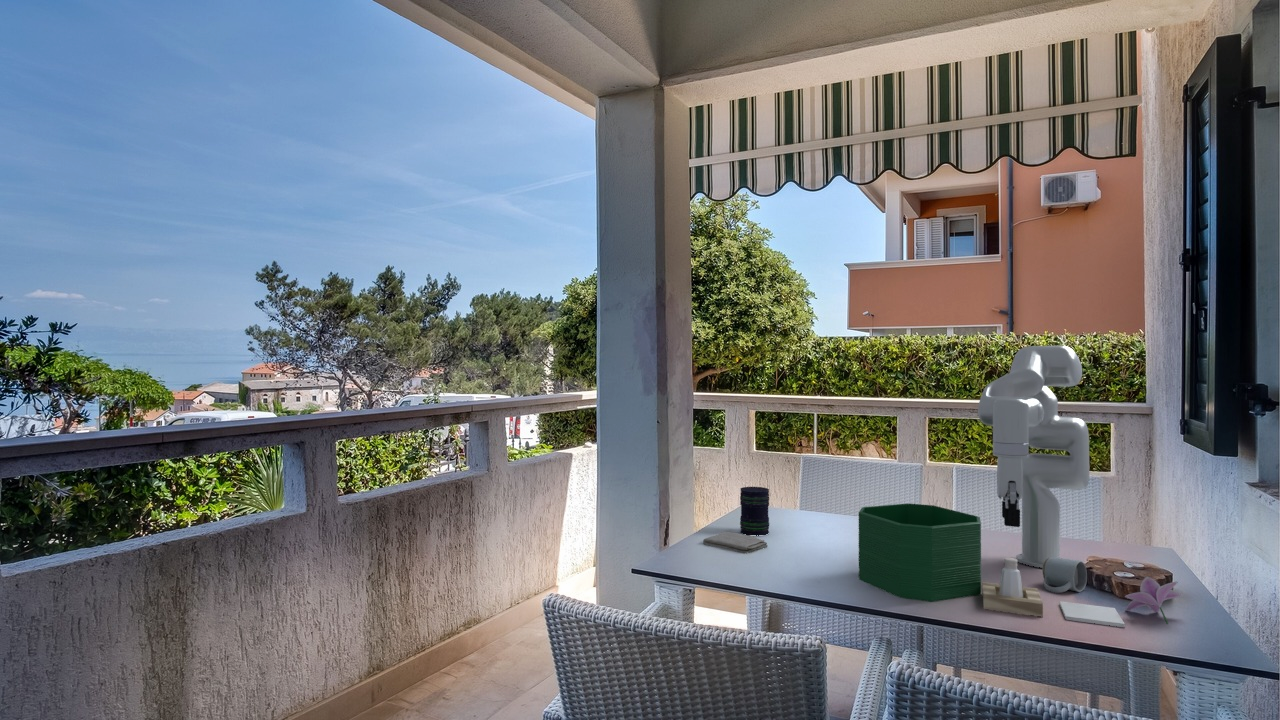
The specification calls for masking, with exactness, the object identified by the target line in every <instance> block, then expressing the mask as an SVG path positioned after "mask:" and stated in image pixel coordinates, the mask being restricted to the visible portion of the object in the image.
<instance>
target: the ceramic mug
mask: <svg viewBox="0 0 1280 720" xmlns="http://www.w3.org/2000/svg"><path fill="white" fill-rule="evenodd" d="M1087 572H1088V571H1087V567H1086V564H1085V562H1083V561H1082V560H1077V559H1070V558H1061V557H1060V558H1056V557H1052V558H1048V559H1046V561H1045V562H1044V564H1043V568H1042V577H1043V582H1042V583H1043V586H1044V589H1046V591H1048V592H1050V591H1051V592H1050V593H1054V592H1055V593H1056V594H1059V593H1064V592H1067V591H1068V590H1069V591H1073V592H1077V593H1081V592H1083V591H1084V590H1085V588H1086V585H1087V583H1088V573H1087ZM1050 585H1051V586H1050Z"/></svg>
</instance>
